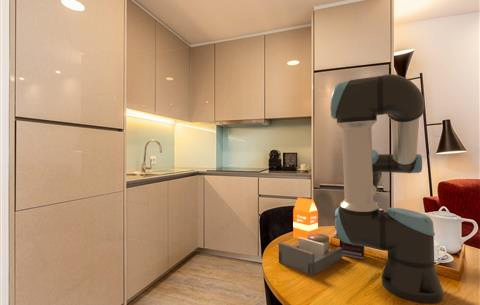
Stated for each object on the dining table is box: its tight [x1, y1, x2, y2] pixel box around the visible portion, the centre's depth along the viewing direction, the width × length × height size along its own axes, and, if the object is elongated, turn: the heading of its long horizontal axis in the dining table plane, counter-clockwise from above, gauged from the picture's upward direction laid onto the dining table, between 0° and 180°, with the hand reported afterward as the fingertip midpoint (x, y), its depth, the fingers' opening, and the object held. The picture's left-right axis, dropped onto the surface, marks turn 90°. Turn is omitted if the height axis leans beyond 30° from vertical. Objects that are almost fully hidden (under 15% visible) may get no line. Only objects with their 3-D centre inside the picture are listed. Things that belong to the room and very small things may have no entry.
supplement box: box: [339, 239, 365, 260], centre depth 97 cm, size 9×5×16 cm, turn 57°
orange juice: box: [292, 197, 319, 240], centre depth 118 cm, size 8×9×20 cm
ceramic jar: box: [307, 232, 330, 253], centre depth 95 cm, size 8×8×8 cm
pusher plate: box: [297, 237, 325, 259], centre depth 92 cm, size 10×1×7 cm, turn 41°
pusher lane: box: [278, 242, 343, 277], centre depth 92 cm, size 14×21×8 cm, turn 131°
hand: (348, 239), depth 95 cm, fingers closed on supplement box, 9 cm apart
